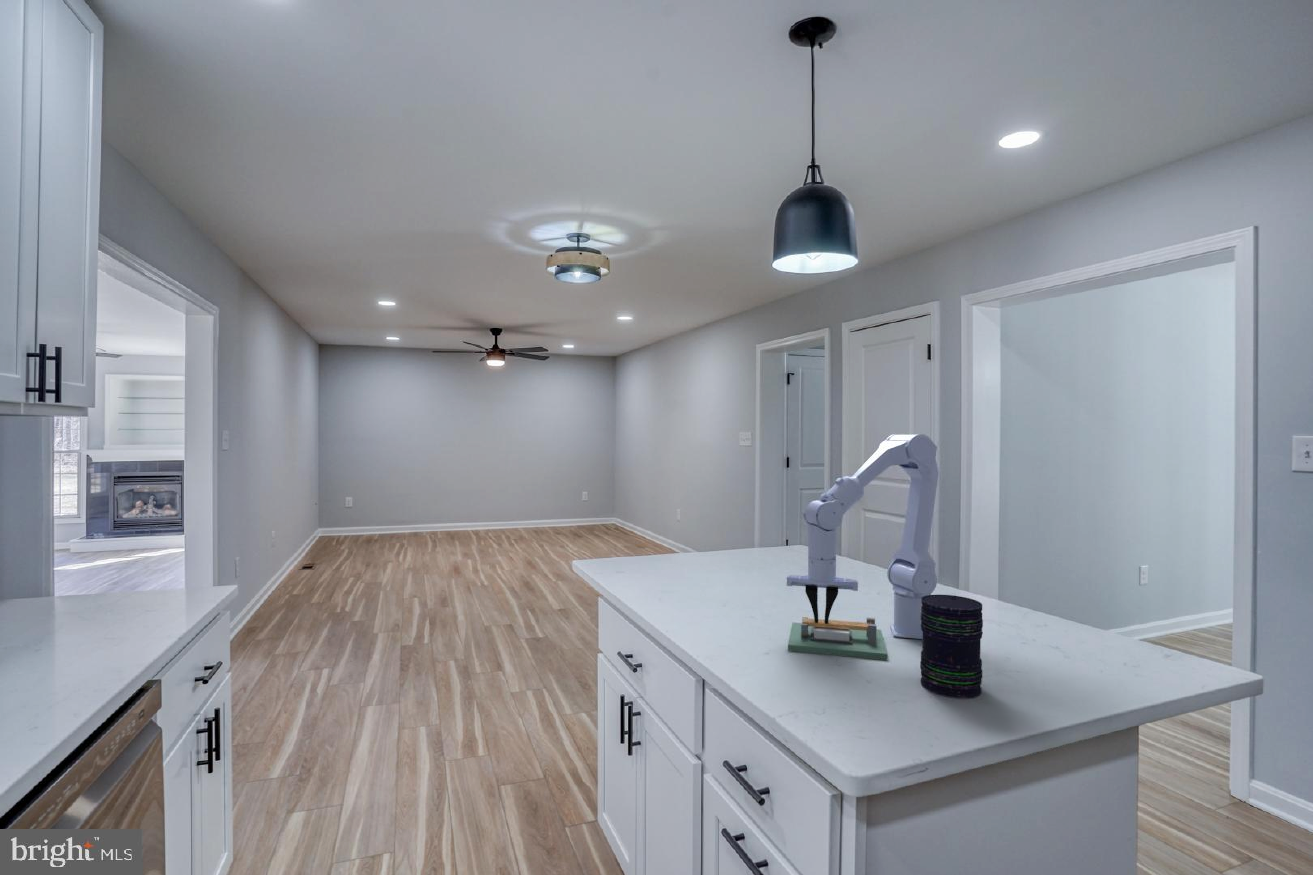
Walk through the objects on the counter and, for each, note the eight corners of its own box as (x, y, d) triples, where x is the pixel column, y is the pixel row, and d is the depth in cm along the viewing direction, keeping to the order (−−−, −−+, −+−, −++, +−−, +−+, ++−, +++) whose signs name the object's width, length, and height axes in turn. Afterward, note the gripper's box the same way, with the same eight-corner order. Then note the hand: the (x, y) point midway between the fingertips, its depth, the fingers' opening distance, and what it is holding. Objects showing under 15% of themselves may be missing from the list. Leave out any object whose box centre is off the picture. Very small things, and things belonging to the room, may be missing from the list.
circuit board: (881, 635, 139) (881, 612, 139) (887, 660, 124) (887, 634, 124) (792, 627, 144) (792, 605, 144) (787, 650, 129) (788, 626, 129)
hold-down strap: (873, 630, 133) (874, 622, 133) (874, 635, 130) (874, 626, 130) (802, 625, 137) (802, 617, 137) (802, 629, 134) (802, 621, 134)
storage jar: (979, 703, 104) (980, 612, 104) (915, 690, 109) (916, 603, 109) (984, 683, 112) (985, 599, 112) (925, 672, 117) (925, 591, 117)
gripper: (786, 559, 133) (785, 624, 133) (858, 563, 129) (858, 630, 129) (788, 553, 139) (787, 614, 139) (857, 557, 136) (856, 620, 136)
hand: (821, 621), depth 135 cm, fingers closed on hold-down strap
